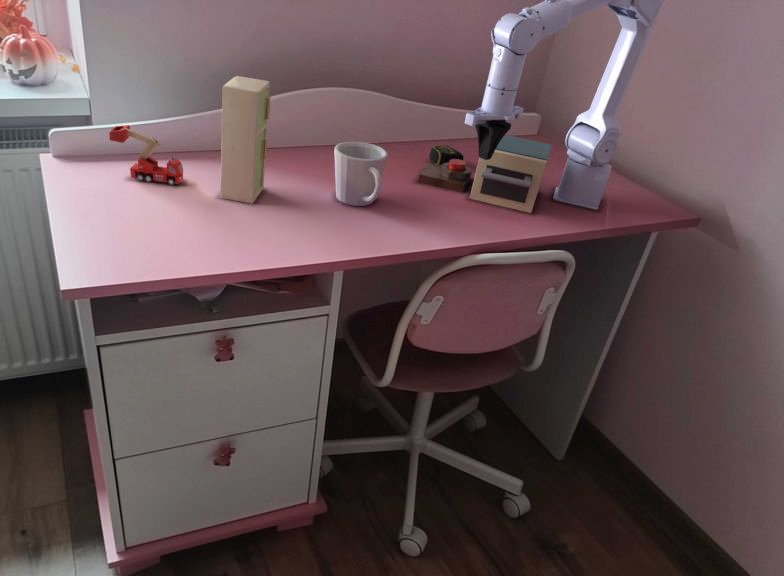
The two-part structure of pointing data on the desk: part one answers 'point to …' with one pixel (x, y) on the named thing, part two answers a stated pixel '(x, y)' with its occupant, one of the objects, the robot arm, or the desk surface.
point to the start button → (457, 165)
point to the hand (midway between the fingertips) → (484, 158)
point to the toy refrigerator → (244, 138)
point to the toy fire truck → (148, 159)
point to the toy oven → (525, 147)
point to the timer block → (445, 177)
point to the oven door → (508, 180)
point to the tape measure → (444, 154)
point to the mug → (358, 172)
